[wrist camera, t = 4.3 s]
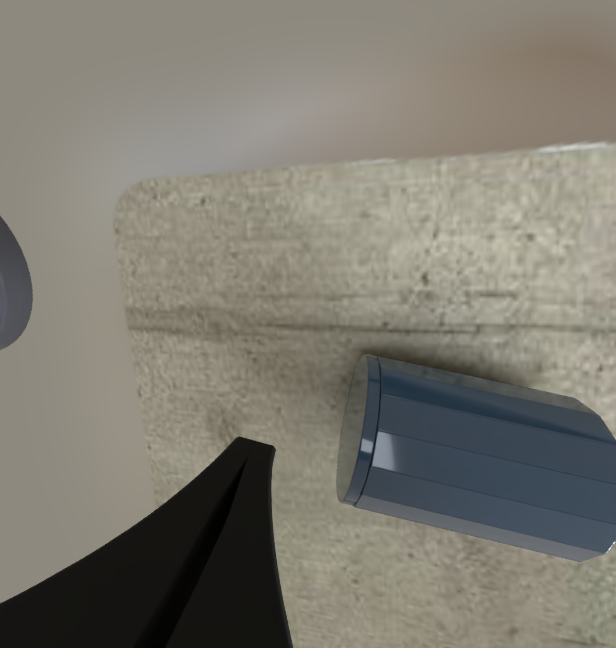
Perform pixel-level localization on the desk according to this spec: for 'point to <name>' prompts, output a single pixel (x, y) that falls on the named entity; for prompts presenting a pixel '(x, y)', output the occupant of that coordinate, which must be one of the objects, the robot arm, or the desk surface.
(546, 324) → the desk surface
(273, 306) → the desk surface
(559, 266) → the desk surface
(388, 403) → the tumbler
